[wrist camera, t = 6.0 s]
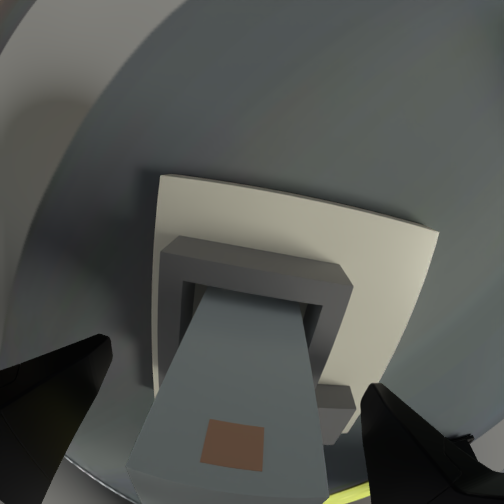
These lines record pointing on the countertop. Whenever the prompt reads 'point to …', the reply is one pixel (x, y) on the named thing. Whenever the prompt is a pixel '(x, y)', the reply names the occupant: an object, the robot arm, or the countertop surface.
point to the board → (291, 277)
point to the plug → (234, 411)
